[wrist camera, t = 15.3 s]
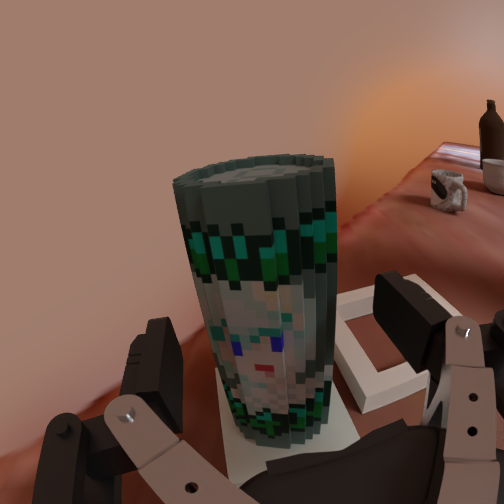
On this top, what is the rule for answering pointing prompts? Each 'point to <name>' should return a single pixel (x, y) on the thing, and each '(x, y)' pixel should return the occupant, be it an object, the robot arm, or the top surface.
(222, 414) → the white rectangular plate
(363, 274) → the top surface
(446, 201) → the mug
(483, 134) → the olive oil
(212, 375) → the top surface
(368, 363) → the well rim
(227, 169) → the can
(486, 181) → the teacup
